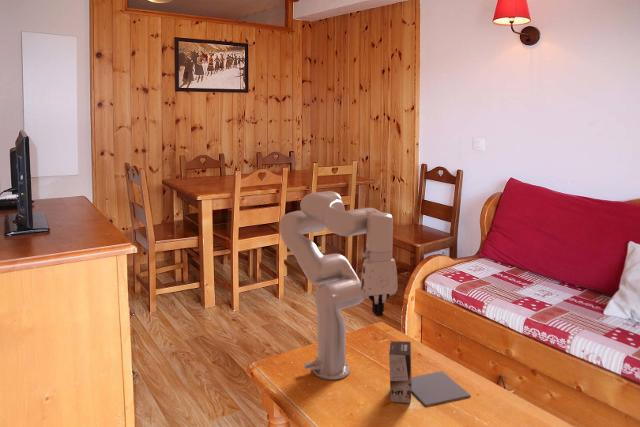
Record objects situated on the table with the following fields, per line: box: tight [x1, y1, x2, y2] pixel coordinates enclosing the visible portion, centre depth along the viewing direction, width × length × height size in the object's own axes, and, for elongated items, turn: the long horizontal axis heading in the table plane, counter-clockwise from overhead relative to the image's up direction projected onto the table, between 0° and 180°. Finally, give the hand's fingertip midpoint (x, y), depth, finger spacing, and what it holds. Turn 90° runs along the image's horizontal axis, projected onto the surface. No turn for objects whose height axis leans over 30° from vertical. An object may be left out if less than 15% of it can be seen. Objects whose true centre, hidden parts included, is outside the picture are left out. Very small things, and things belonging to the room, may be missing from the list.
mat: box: [411, 370, 471, 407], centre depth 170 cm, size 16×16×1 cm
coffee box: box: [388, 340, 413, 404], centre depth 164 cm, size 9×6×16 cm
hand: (377, 314), depth 157 cm, fingers closed
